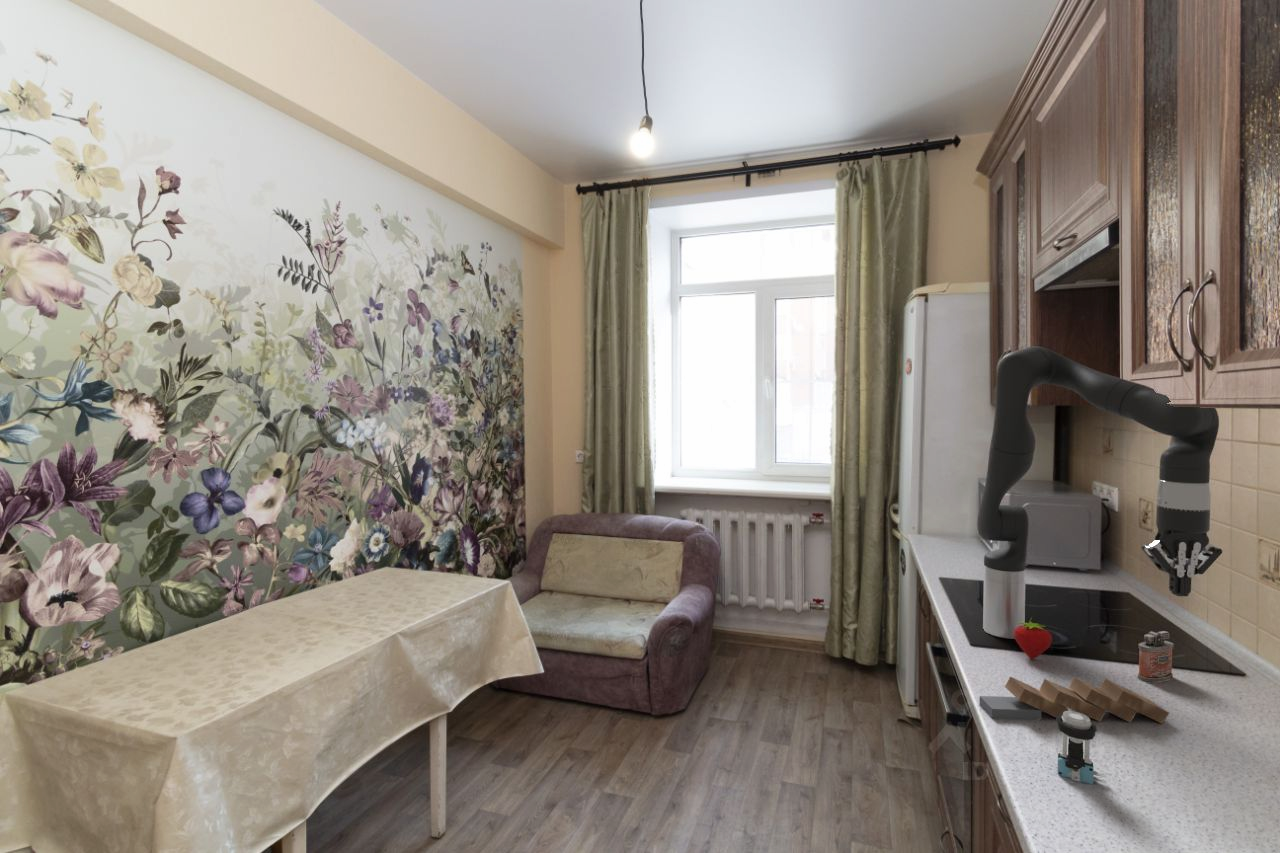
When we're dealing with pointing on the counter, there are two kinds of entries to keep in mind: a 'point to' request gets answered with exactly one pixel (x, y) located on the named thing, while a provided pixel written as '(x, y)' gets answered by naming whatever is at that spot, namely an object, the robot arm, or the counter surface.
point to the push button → (1076, 747)
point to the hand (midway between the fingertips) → (1179, 595)
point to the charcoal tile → (1008, 708)
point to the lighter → (1155, 658)
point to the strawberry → (1032, 639)
